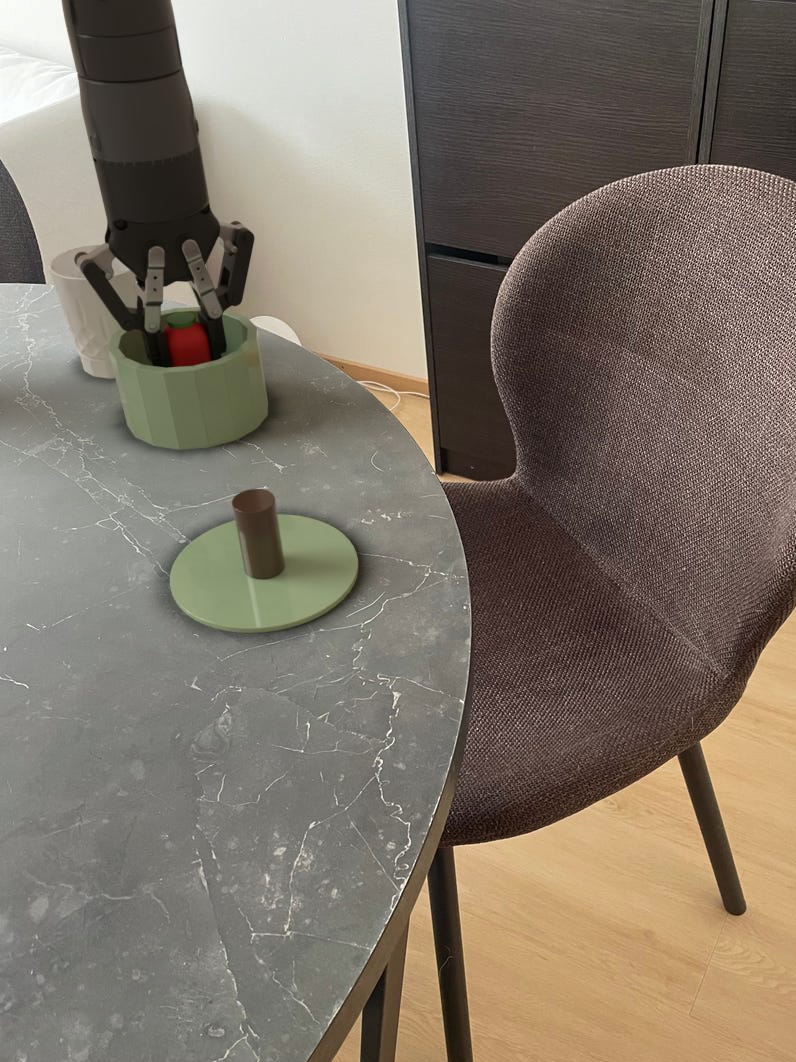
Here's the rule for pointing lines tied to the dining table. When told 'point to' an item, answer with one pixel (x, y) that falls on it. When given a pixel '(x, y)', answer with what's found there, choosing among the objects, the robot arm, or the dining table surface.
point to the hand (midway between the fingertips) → (189, 363)
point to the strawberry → (186, 340)
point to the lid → (263, 569)
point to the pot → (192, 389)
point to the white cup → (90, 308)
